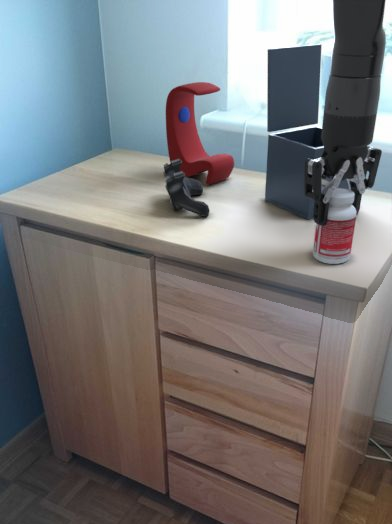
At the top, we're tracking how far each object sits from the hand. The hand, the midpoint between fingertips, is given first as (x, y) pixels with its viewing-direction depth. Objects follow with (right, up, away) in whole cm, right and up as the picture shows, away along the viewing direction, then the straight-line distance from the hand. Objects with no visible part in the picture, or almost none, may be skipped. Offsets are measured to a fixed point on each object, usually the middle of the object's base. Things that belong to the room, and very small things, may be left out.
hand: (335, 219), depth 90 cm
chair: (-22, +19, +41) cm, 50 cm away
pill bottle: (0, -6, +4) cm, 7 cm away
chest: (+1, +9, +25) cm, 27 cm away
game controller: (-25, +9, +26) cm, 37 cm away
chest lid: (-3, +30, +19) cm, 35 cm away
